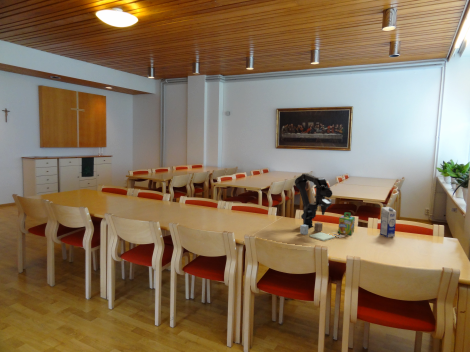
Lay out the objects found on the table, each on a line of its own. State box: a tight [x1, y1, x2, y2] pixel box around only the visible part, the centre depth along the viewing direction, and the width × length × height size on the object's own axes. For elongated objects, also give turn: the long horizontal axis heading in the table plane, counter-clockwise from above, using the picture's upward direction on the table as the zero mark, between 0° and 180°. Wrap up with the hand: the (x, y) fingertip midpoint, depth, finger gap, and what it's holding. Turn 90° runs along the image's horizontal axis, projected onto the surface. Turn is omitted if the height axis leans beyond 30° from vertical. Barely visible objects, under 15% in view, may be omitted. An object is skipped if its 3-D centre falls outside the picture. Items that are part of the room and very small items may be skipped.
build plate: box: [309, 231, 336, 242], centre depth 228 cm, size 12×12×1 cm
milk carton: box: [379, 206, 397, 238], centre depth 231 cm, size 7×7×20 cm
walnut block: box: [313, 221, 323, 233], centre depth 241 cm, size 4×4×6 cm
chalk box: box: [337, 212, 356, 236], centre depth 238 cm, size 9×9×15 cm
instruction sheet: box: [333, 233, 346, 239], centre depth 232 cm, size 10×7×1 cm
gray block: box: [299, 224, 309, 236], centre depth 235 cm, size 4×4×6 cm
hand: (318, 216), depth 240 cm, fingers open, 9 cm apart
